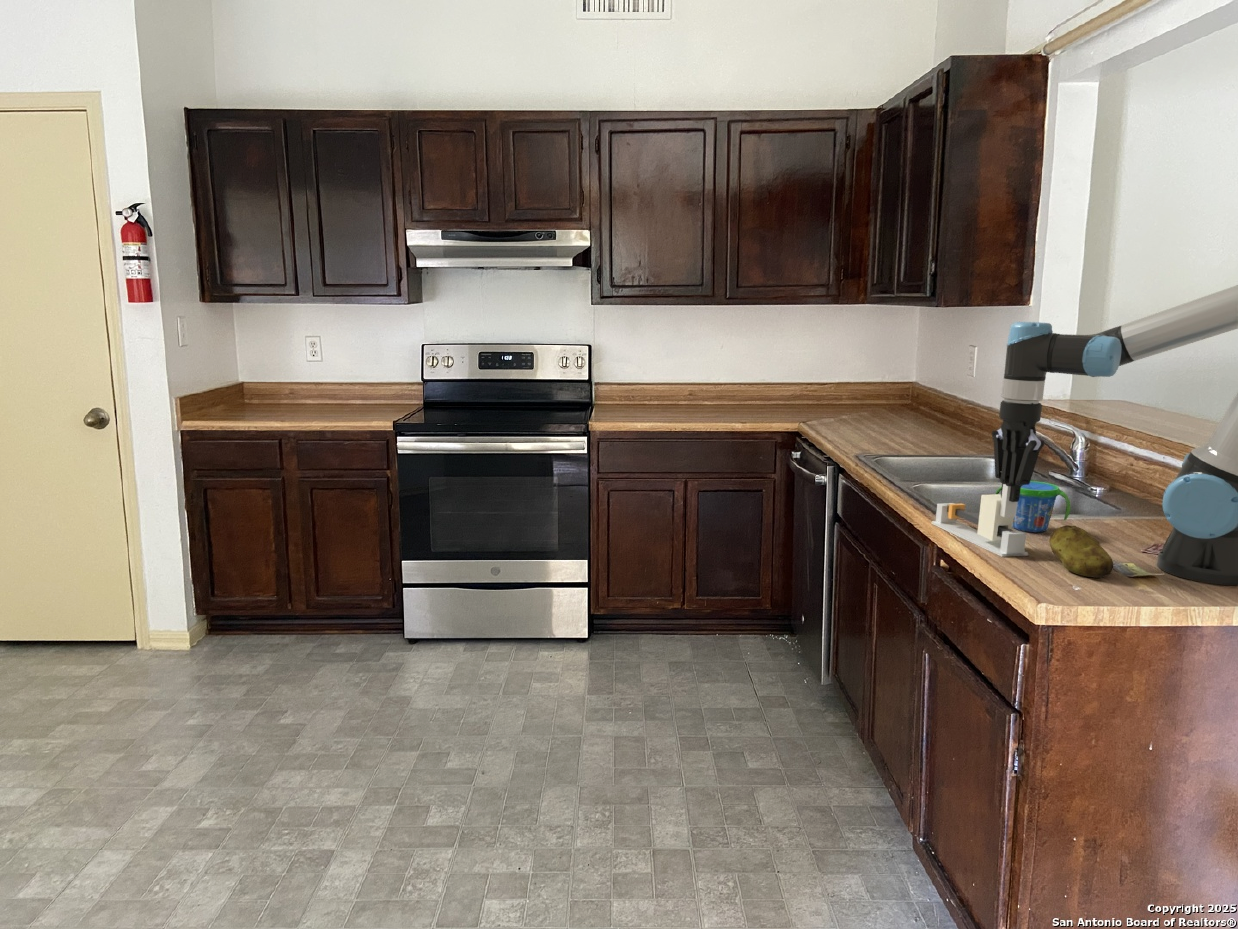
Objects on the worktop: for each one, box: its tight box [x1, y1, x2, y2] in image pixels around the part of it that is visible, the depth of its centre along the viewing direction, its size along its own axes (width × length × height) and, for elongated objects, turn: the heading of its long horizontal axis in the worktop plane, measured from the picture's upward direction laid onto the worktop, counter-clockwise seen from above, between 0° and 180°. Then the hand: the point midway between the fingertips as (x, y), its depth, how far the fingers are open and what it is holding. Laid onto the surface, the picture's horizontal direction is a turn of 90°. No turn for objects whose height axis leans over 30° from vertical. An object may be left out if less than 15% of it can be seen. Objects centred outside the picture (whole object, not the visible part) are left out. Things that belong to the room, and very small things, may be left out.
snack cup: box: [994, 480, 1071, 533], centre depth 193 cm, size 16×10×10 cm
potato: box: [1049, 525, 1114, 579], centre depth 164 cm, size 8×13×8 cm, turn 177°
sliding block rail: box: [931, 502, 1029, 558], centre depth 184 cm, size 25×6×6 cm, turn 13°
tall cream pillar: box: [977, 493, 1014, 541], centre depth 178 cm, size 5×4×8 cm
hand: (1007, 515), depth 175 cm, fingers closed
